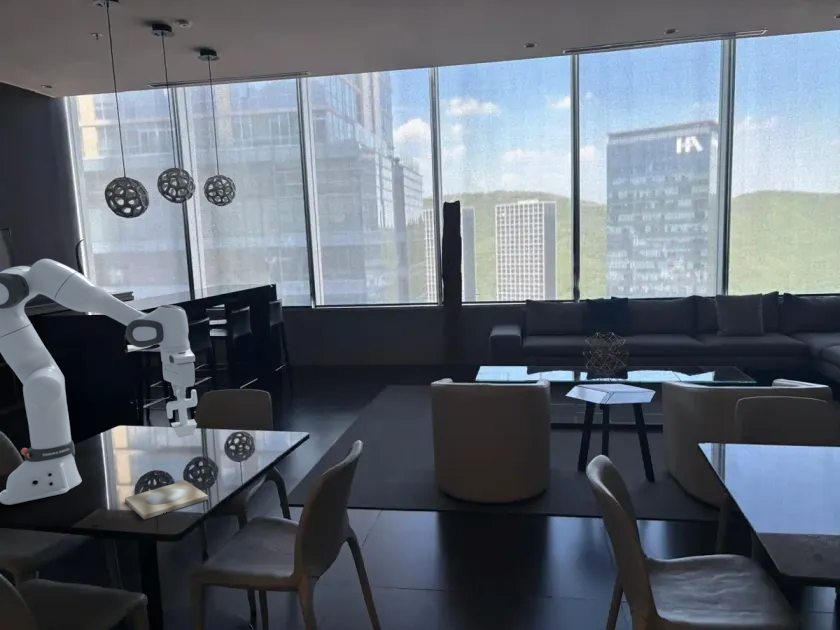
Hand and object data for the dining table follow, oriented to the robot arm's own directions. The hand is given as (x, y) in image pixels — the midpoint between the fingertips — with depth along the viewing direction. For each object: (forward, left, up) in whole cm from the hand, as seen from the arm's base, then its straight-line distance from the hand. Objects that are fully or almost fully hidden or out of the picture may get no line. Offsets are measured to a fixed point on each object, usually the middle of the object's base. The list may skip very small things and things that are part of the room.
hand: (179, 396), depth 192 cm
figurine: (+1, 0, -13) cm, 13 cm away
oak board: (-12, -15, -27) cm, 33 cm away
